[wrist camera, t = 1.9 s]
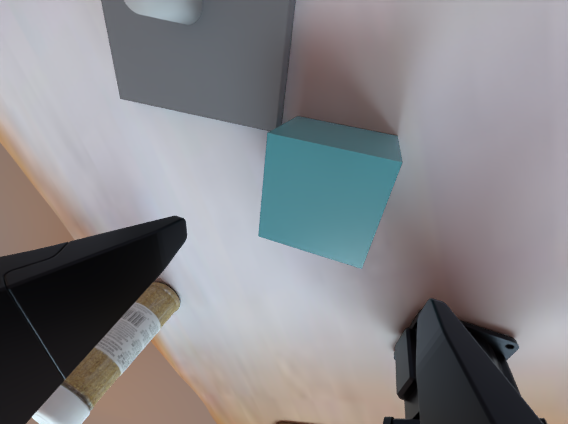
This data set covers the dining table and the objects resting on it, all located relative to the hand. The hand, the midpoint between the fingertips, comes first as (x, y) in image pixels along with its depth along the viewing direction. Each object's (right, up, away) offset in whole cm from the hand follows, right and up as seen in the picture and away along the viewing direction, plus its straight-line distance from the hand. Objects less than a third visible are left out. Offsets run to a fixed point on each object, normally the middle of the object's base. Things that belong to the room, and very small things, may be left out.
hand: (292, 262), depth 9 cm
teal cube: (+3, +4, +8) cm, 9 cm away
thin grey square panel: (-5, +14, +6) cm, 16 cm away
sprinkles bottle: (-14, -8, +22) cm, 27 cm away
